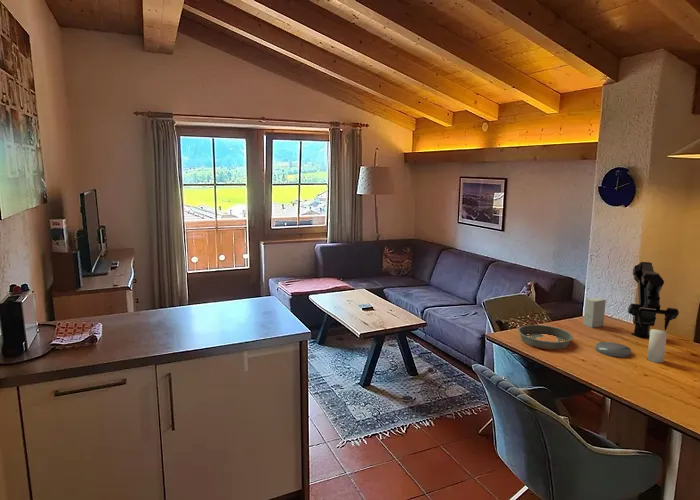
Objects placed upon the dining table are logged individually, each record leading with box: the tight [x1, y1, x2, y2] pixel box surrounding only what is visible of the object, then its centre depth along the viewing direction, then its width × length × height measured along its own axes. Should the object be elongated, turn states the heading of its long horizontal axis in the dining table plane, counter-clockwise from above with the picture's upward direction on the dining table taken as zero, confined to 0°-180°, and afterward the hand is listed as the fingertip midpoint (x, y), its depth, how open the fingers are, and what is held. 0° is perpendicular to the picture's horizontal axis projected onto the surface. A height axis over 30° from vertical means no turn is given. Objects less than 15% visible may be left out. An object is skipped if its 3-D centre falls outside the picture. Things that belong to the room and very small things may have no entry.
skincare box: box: [583, 296, 607, 329], centre depth 245 cm, size 8×6×15 cm
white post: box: [646, 328, 668, 364], centre depth 199 cm, size 6×6×13 cm
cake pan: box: [517, 324, 574, 350], centre depth 222 cm, size 25×25×4 cm
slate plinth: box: [595, 341, 632, 359], centre depth 210 cm, size 14×14×2 cm
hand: (653, 328), depth 206 cm, fingers open, 9 cm apart
